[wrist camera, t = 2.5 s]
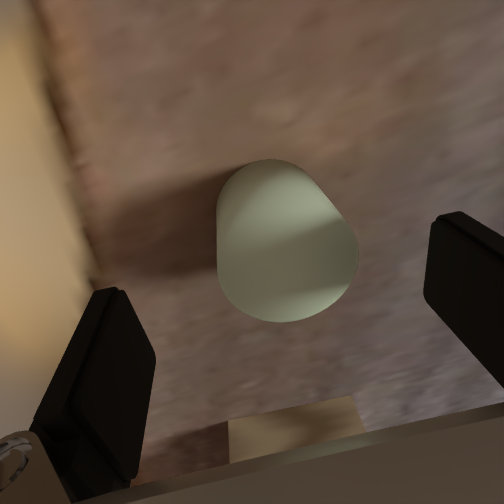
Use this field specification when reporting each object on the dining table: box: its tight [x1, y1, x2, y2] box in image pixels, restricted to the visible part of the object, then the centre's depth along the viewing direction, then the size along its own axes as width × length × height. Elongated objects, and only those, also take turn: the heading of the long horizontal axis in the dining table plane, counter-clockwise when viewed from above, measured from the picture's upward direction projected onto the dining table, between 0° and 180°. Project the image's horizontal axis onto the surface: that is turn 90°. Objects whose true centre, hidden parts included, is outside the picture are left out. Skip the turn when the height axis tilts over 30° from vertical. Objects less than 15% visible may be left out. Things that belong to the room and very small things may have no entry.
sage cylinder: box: [216, 159, 359, 322], centre depth 14 cm, size 5×5×5 cm
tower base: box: [228, 395, 366, 463], centre depth 24 cm, size 9×9×5 cm
